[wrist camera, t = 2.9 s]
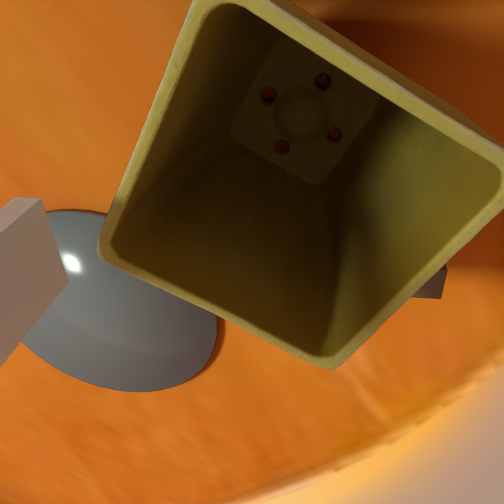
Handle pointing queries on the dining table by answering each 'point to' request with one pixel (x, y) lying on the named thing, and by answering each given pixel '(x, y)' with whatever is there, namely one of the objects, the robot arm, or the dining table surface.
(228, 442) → the dining table surface
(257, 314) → the flower pot
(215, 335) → the grey round disc
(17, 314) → the robot arm
